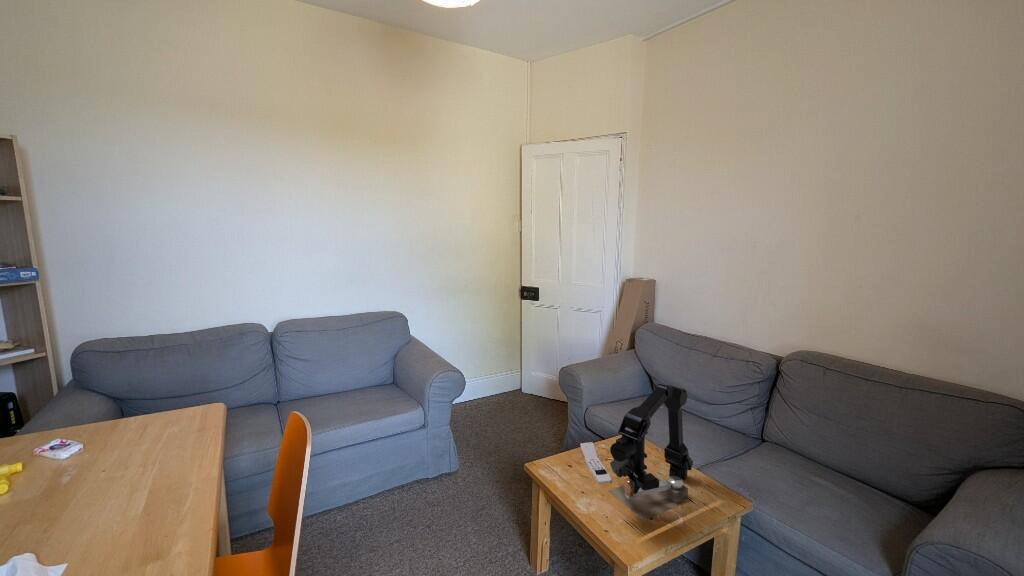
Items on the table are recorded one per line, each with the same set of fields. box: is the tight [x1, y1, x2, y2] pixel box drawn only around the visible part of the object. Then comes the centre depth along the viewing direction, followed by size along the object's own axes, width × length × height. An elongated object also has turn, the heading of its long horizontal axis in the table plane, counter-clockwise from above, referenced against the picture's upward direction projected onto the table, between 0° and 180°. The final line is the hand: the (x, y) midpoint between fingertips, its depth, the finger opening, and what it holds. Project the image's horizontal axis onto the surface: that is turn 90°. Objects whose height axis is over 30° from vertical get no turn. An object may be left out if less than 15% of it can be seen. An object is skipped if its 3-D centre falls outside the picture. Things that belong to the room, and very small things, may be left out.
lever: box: [624, 476, 684, 499], centre depth 146 cm, size 23×5×6 cm, turn 107°
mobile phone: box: [580, 441, 613, 484], centre depth 168 cm, size 6×6×25 cm
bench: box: [607, 473, 690, 522], centre depth 150 cm, size 22×18×6 cm
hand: (635, 493), depth 140 cm, fingers closed
